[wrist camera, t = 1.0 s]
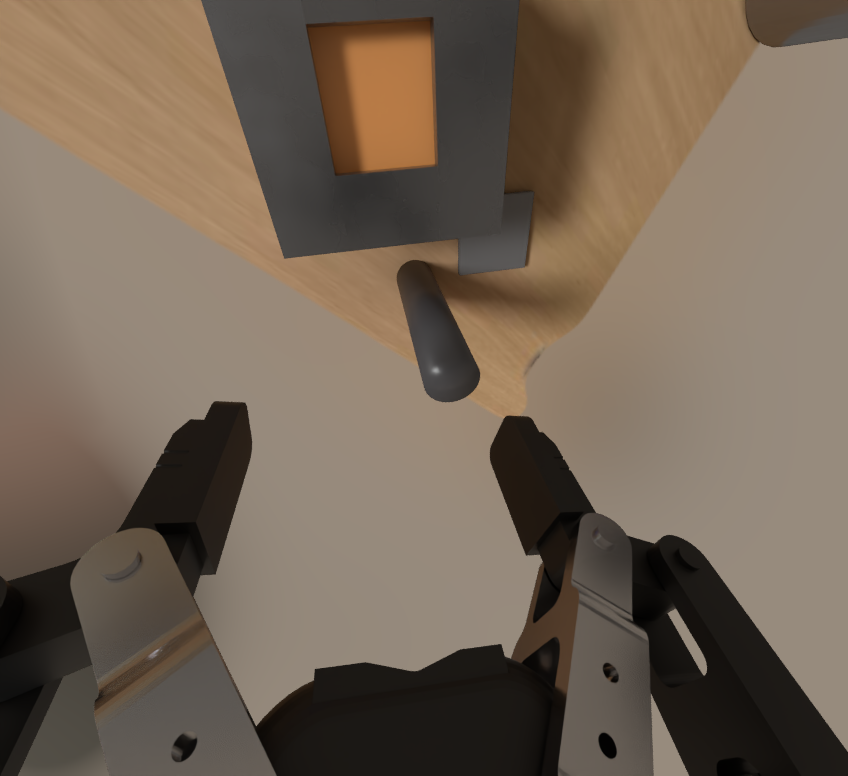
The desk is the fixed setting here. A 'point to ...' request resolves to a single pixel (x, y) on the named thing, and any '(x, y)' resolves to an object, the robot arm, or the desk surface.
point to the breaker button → (376, 94)
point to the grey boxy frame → (308, 137)
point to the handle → (436, 336)
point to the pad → (500, 239)
